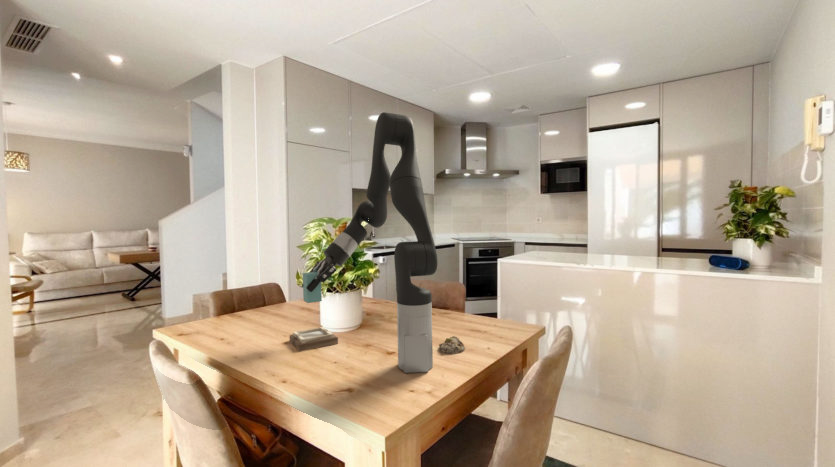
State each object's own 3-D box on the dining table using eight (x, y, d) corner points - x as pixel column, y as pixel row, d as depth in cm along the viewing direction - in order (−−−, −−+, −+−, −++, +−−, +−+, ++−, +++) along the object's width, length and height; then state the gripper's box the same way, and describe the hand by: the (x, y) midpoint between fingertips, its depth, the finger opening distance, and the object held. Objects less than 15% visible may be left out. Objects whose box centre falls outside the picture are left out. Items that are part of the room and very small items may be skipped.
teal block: (321, 301, 121) (320, 273, 121) (307, 303, 119) (306, 274, 118) (317, 298, 125) (316, 271, 125) (303, 300, 122) (302, 273, 122)
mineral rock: (463, 348, 108) (437, 338, 110) (459, 362, 108) (433, 352, 111) (470, 338, 118) (446, 329, 121) (467, 351, 118) (443, 342, 121)
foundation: (337, 343, 120) (337, 334, 120) (299, 351, 114) (299, 341, 114) (325, 334, 130) (324, 325, 130) (289, 341, 124) (289, 331, 124)
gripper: (326, 240, 131) (291, 278, 125) (341, 242, 119) (304, 284, 113) (340, 254, 134) (307, 292, 128) (357, 258, 122) (321, 300, 116)
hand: (306, 288), depth 121 cm, fingers closed on teal block, 4 cm apart
